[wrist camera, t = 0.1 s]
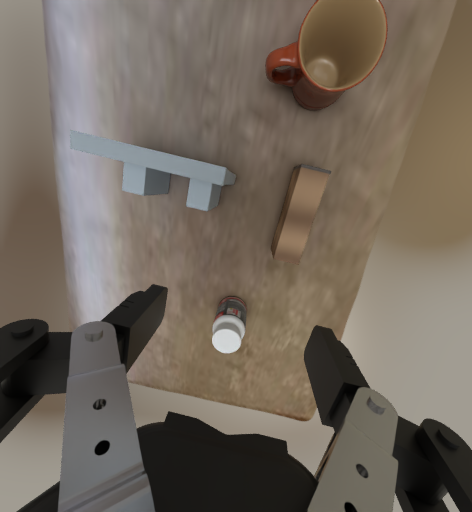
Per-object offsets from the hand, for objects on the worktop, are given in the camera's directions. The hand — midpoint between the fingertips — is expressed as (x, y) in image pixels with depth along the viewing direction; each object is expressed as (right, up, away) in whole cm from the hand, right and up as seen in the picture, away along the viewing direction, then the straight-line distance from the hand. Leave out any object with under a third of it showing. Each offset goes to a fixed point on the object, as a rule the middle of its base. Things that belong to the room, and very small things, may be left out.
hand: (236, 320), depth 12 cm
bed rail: (+10, +11, +26) cm, 30 cm away
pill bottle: (-1, -7, +33) cm, 34 cm away
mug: (+10, +28, +21) cm, 37 cm away
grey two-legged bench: (-8, +16, +26) cm, 32 cm away
